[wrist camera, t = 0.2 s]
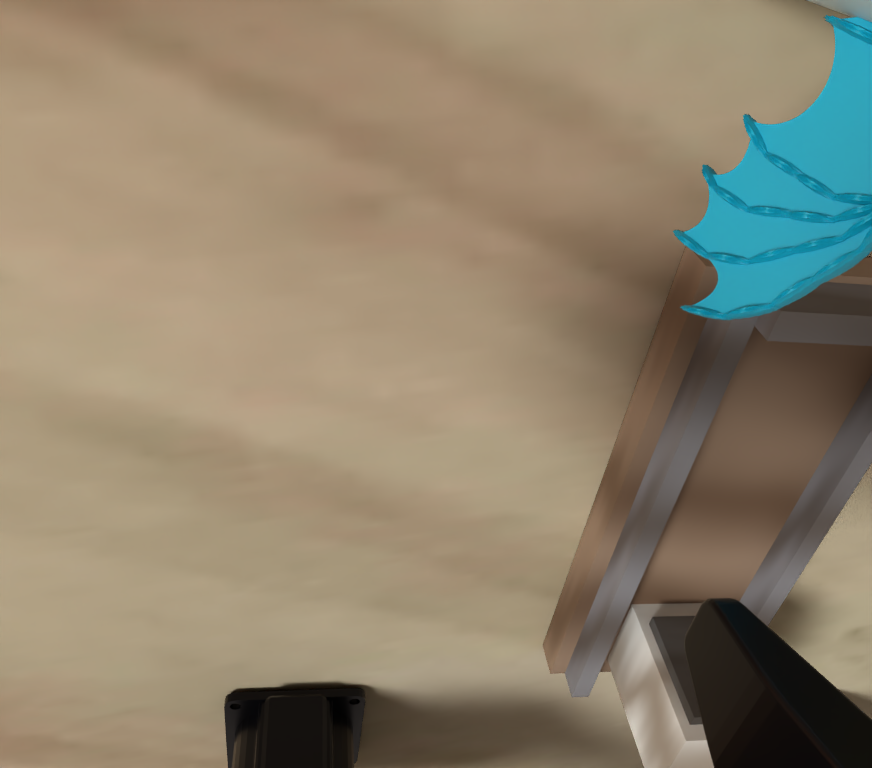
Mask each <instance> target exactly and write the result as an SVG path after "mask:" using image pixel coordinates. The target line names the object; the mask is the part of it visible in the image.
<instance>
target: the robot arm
mask: <svg viewBox="0 0 872 768" xmlns="http://www.w3.org/2000/svg"><path fill="white" fill-rule="evenodd" d="M684 647H685V654H686V659H687V663H688V667H689V671H690V675H691V679H692V683H693V687H694V691H695V695H696V699H697V703H698V707H699V711H700V715H701V720H702V724H703V728H704V732H705V736H706V740H707V744H708V748H709V751H710V755H711V759H712V762H713V766H714V768H872V719H870V718H869V717H868V716H867V715H866V714H865V713H864V712H863V711H862V710H860V709H859V708H858V707H857V706H856V705H855V704H854V703H853V702H851V701H850V700H849V699H848V698H847V697H846V696H845V695H844V694H843V693H841V692H840V691H839V690H838V689H837V688H836V687H835V686H834V685H833V684H831V683H830V682H829V681H828V680H827V679H826V678H825V677H824V676H823V675H821V674H820V673H819V672H818V671H817V670H816V669H815V668H814V667H813V666H811V665H810V664H809V663H808V662H807V661H806V660H805V659H804V658H803V657H801V656H800V655H799V654H798V653H797V652H796V651H795V650H794V649H792V648H791V647H790V646H789V645H788V644H787V643H786V642H785V641H784V640H782V639H781V638H780V637H779V636H778V635H777V634H776V633H775V632H774V631H772V630H771V629H770V628H769V627H768V626H767V625H766V624H765V623H764V622H762V621H761V620H760V619H759V618H758V617H757V616H756V615H755V614H754V613H752V612H751V611H750V610H749V609H748V608H747V607H746V606H745V605H743V604H742V603H741V602H739V601H738V600H736V599H732V598H710V599H707V600H705V601H704V602H703V603H702V604H701V606H700V608H699V610H698V612H697V614H696V615H695V617H694V619H693V621H692V623H691V625H690V627H689V629H688V631H687V633H686V636H685V641H684ZM364 706H365V692H364V691H363V690H362V689H359V688H346V689H319V690H291V691H263V692H236V693H231V694H228V695H227V696H226V698H225V706H224V710H225V726H226V742H227V758H228V768H354V763H356V761H357V758H358V750H359V743H360V736H361V728H362V721H363V714H364Z"/></svg>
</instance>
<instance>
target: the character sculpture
mask: <svg viewBox="0 0 872 768" xmlns="http://www.w3.org/2000/svg"><path fill="white" fill-rule="evenodd" d="M807 1H809V2H812V3H815V4H818V5H820V6H823V7H826V8H828V9H831V10H834V11H837V12H839V13H842V14H845V15H848V16H850V17H853V18H845V19H839V18H837V17H834V16H827V15H826V17H824V18H826V20H825V21H827V22H829V23H830V24H831V25H832V26H833V27H834V33H835V57H834V63H833V67H832V71H831V74H830V76H829V79H828V81H827V84H826V86H825V87H824V89H823V91H822V93H821V94H820V96H819V97H818V98H817V100H816V101H815V102H814V103H813V104H812V105H811V106H810V107H809V108H808V109H807V110H806V111H805V112H804V113H802V114H801V115H799V116H798V117H796V118H794V119H792V120H790V121H787V122H784V123H780V124H771V125H768V124H761V123H757V122H756V120H754V119H753V118H752V117H751V116H750V115H747V114H745V116H744V115H743V117H744V119H743V120H744V124H745V128H746V131H747V133H748V135H749V137H750V138H751V140H750V143H749V147H748V149H747V152H746V154H745V156H744V158H743V160H742V161H741V162H740V164H739V165H738V166H737V167H736V168H735V169H734V170H732V171H730V172H728V173H725V174H721V175H717V174H716V172H715V171H714V170H713V169H712V168H711V167H709V166H708V165H704V164H703V165H702V166H703V169H702V173H703V176H704V177H705V180H706V182H707V183H708V185H709V205H708V209H707V212H706V214H705V216H704V218H703V219H702V221H701V222H700V223H699V224H698V225H697V226H695V227H694V228H692V229H690V230H688V231H685V232H683V231H680V230H674V231H673V232H674V233H675V234H674V235H675V236H676V237H677V238H678V239H679V240H680V241H681V242H682V243H683V244H684V245H685V246H687V247H688V248H689V249H690V250H692V251H694V252H695V253H696V254H698V255H701V256H702V257H704V258H706V259H709V260H710V261H711V262H712V264H713V265H714V266H715V268H716V270H717V273H718V283H717V285H716V288H715V289H714V290H713V292H712V293H711V294H710V295H709V296H708V297H706V298H705V299H703V300H702V301H700V302H698V303H696V304H694V305H688V306H687V305H684V306H681V307H680V308H682V309H683V310H685V311H687V312H689V313H692V314H695V315H699V316H702V317H706V318H712V319H719V320H734V319H742V318H750V317H754V316H760V315H763V314H768V313H771V312H773V311H777V310H778V309H780V308H782V307H784V306H786V305H789V304H790V303H792V302H794V301H796V300H798V299H801V298H802V297H804V296H806V295H807V294H809V293H810V292H812V291H813V290H814V289H816V288H817V287H818V286H819V285H821V284H822V283H824V282H827V281H829V280H831V279H833V278H835V277H837V276H839V275H841V274H842V273H844V272H846V271H848V270H849V269H851V268H853V267H854V266H855V265H856V264H858V263H859V262H860V261H861V260H862V259H864V258H865V257H866V256H868V255H869V253H870V252H871V251H872V0H807Z"/></svg>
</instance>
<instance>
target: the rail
mask: <svg viewBox="0 0 872 768" xmlns="http://www.w3.org/2000/svg"><path fill="white" fill-rule="evenodd" d="M717 283H718V273H717V270H716V268H715V266H714V265H713V264H712V262H711V261H710V260H709V259H706V258H704V257H702V256H701V255H698V254H696V253H695V252H694V251H692V250H690V249H689V248H688V247H687V246H686V247H685V250H684V253H683V255H682V258H681V261H680V264H679V267H678V269H677V272H676V275H675V278H674V280H673V283H672V286H671V289H670V292H669V294H668V297H667V300H666V303H665V306H664V308H663V311H662V314H661V317H660V320H659V322H658V325H657V328H656V331H655V334H654V336H653V339H652V342H651V345H650V347H649V350H648V353H647V356H646V359H645V361H644V364H643V367H642V370H641V373H640V375H639V378H638V381H637V384H636V387H635V389H634V392H633V395H632V398H631V400H630V403H629V406H628V409H627V412H626V414H625V417H624V420H623V423H622V426H621V428H620V431H619V434H618V437H617V440H616V442H615V445H614V448H613V451H612V453H611V456H610V459H609V462H608V465H607V467H606V470H605V473H604V476H603V479H602V481H601V484H600V487H599V490H598V493H597V495H596V498H595V501H594V504H593V506H592V509H591V512H590V515H589V518H588V520H587V523H586V526H585V529H584V532H583V534H582V537H581V540H580V543H579V546H578V548H577V551H576V554H575V557H574V560H573V562H572V565H571V568H570V571H569V573H568V576H567V579H566V582H565V585H564V587H563V590H562V593H561V596H560V599H559V601H558V604H557V607H556V610H555V613H554V615H553V618H552V621H551V624H550V626H549V629H548V632H547V635H546V638H545V640H544V643H543V648H544V651H545V655H546V659H547V663H548V666H549V670H550V674H552V673H565V675H566V679H567V682H568V686H569V689H570V693H571V696H572V697H588V696H589V694H590V692H591V690H592V688H593V685H594V683H595V681H596V679H597V677H598V674H599V672H612V675H613V677H614V680H615V683H616V686H617V689H618V692H619V695H620V698H621V701H622V704H623V707H624V710H625V713H626V716H627V719H628V722H629V725H630V728H631V731H632V733H633V736H634V739H635V742H636V745H637V748H638V751H639V754H640V757H641V760H642V763H643V766H644V768H714V766H713V762H712V759H711V755H710V751H709V748H708V744H707V740H706V736H705V732H704V728H703V724H702V720H701V715H700V711H699V707H698V703H697V699H696V695H695V691H694V687H693V683H692V679H691V675H690V671H689V667H688V663H687V659H686V654H685V647H684V641H685V636H686V633H687V631H688V629H689V627H690V625H691V623H692V621H693V619H694V617H695V615H696V614H697V612H698V610H699V608H700V606H701V604H702V603H703V602H704V601H705V600H707V599H710V598H732V599H736V600H738V601H739V602H741V603H742V604H743V605H745V606H746V607H747V608H748V609H749V610H750V611H751V612H752V613H754V614H755V615H756V616H757V617H758V618H759V619H760V620H761V621H762V622H764V623H765V624H766V625H767V626H768V625H769V623H770V622H771V620H772V619H773V617H774V615H775V614H776V612H777V611H778V609H779V608H780V606H781V604H782V603H783V601H784V600H785V598H786V597H787V595H788V593H789V592H790V590H791V589H792V587H793V586H794V584H795V582H796V581H797V579H798V578H799V576H800V575H801V573H802V571H803V570H804V568H805V567H806V565H807V564H808V562H809V560H810V559H811V557H812V556H813V554H814V553H815V551H816V549H817V548H818V546H819V545H820V543H821V542H822V540H823V538H824V537H825V535H826V534H827V532H828V531H829V529H830V527H831V526H832V524H833V523H834V521H835V520H836V518H837V516H838V515H839V513H840V512H841V510H842V509H843V507H844V505H845V504H846V502H847V501H848V499H849V498H850V496H851V494H852V493H853V491H854V490H855V488H856V487H857V485H858V483H859V482H860V480H861V479H862V477H863V476H864V474H865V472H866V471H867V469H868V468H869V466H870V465H871V463H872V257H865V258H864V259H862V260H861V261H860V262H859V263H858V264H856V265H855V266H854V267H853V268H851V269H849V270H848V271H846V272H844V273H842V274H841V275H839V276H837V277H835V278H833V279H831V280H829V281H827V282H824V283H822V284H821V285H819V286H818V287H817V288H816V289H814V290H813V291H812V292H810V293H809V294H807V295H806V296H804V297H802V298H801V299H798V300H796V301H794V302H792V303H790V304H789V305H786V306H784V307H782V308H780V309H778V310H777V311H773V312H771V313H768V314H763V315H760V316H754V317H750V318H742V319H734V320H719V319H712V318H706V317H702V316H699V315H695V314H692V313H689V312H687V311H685V310H683V309H682V308H680V307H681V306H684V305H687V306H688V305H694V304H696V303H698V302H700V301H702V300H703V299H705V298H706V297H708V296H709V295H710V294H711V293H712V292H713V290H714V289H715V288H716V285H717Z"/></svg>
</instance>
